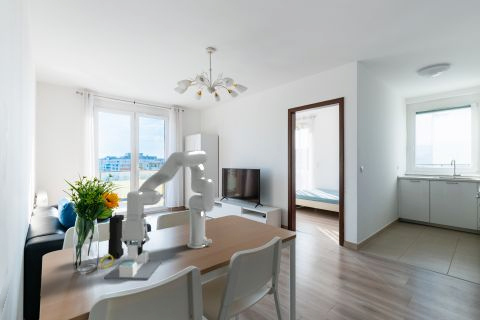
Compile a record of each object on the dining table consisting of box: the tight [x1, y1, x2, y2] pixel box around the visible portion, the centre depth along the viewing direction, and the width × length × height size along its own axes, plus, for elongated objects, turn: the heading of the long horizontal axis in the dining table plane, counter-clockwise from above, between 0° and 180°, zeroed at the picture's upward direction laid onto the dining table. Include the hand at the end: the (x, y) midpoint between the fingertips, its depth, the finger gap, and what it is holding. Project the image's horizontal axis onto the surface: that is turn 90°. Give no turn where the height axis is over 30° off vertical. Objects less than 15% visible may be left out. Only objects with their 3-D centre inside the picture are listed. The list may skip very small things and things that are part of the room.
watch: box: [99, 253, 115, 269], centre depth 115 cm, size 6×3×6 cm, turn 143°
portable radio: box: [107, 212, 125, 260], centre depth 127 cm, size 8×6×25 cm
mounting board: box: [103, 249, 163, 281], centre depth 112 cm, size 20×18×6 cm
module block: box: [127, 241, 142, 259], centre depth 112 cm, size 4×6×6 cm, turn 179°
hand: (135, 253), depth 112 cm, fingers closed on module block, 4 cm apart
